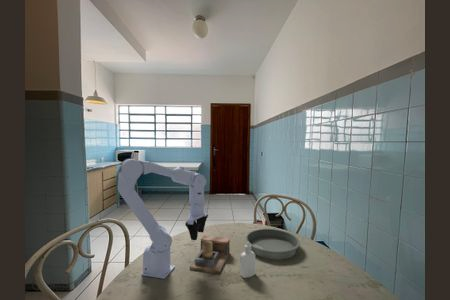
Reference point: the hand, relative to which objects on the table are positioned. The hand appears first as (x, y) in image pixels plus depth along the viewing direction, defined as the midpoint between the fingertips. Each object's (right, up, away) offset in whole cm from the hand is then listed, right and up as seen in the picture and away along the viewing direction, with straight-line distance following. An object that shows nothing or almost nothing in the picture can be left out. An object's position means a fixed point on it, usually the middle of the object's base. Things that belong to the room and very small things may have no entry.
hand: (197, 235), depth 87 cm
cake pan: (+33, -11, +12) cm, 37 cm away
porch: (+5, -10, 0) cm, 12 cm away
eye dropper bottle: (+19, -11, -9) cm, 24 cm away
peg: (+4, -9, -1) cm, 10 cm away
